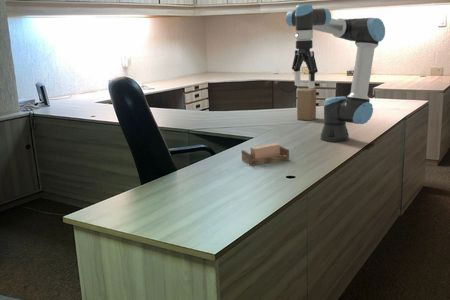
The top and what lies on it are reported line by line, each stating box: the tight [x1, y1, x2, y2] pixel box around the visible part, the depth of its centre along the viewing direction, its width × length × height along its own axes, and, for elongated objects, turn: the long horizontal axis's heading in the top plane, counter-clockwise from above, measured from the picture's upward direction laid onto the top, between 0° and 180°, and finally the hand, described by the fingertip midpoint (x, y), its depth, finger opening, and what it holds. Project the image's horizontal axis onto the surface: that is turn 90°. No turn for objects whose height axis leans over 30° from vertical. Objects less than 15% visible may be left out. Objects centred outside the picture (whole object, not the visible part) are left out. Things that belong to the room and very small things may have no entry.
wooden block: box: [296, 87, 317, 121], centre depth 324 cm, size 10×10×20 cm
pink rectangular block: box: [250, 142, 281, 160], centre depth 231 cm, size 14×4×6 cm, turn 120°
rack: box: [241, 145, 290, 166], centre depth 231 cm, size 20×10×5 cm, turn 110°
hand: (304, 86), depth 226 cm, fingers open, 13 cm apart
